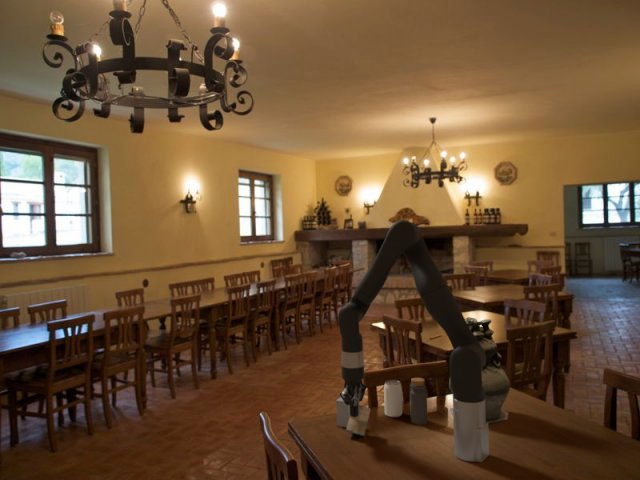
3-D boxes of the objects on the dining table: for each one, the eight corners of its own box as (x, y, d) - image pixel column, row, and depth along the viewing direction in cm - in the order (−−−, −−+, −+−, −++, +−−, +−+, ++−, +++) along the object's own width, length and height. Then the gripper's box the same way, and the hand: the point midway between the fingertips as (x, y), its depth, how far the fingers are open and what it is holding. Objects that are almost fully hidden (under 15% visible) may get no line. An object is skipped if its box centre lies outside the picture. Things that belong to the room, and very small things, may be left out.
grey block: (353, 423, 176) (352, 397, 176) (348, 427, 172) (347, 401, 172) (341, 421, 178) (340, 396, 178) (336, 426, 174) (336, 400, 174)
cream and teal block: (363, 436, 165) (370, 409, 168) (357, 433, 162) (363, 406, 165) (352, 433, 167) (359, 406, 171) (346, 430, 164) (353, 403, 168)
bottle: (428, 424, 173) (427, 381, 173) (412, 425, 173) (410, 382, 173) (425, 418, 179) (424, 376, 179) (409, 418, 179) (408, 377, 179)
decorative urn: (439, 412, 186) (433, 319, 186) (483, 401, 194) (478, 312, 194) (477, 431, 166) (470, 327, 166) (525, 418, 175) (519, 319, 174)
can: (397, 418, 179) (396, 385, 179) (381, 415, 183) (380, 383, 183) (405, 413, 184) (404, 381, 184) (390, 410, 188) (389, 378, 188)
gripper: (350, 370, 156) (352, 425, 157) (373, 361, 167) (374, 412, 167) (331, 367, 161) (333, 420, 161) (354, 358, 171) (356, 408, 172)
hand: (354, 416), depth 164 cm, fingers closed
